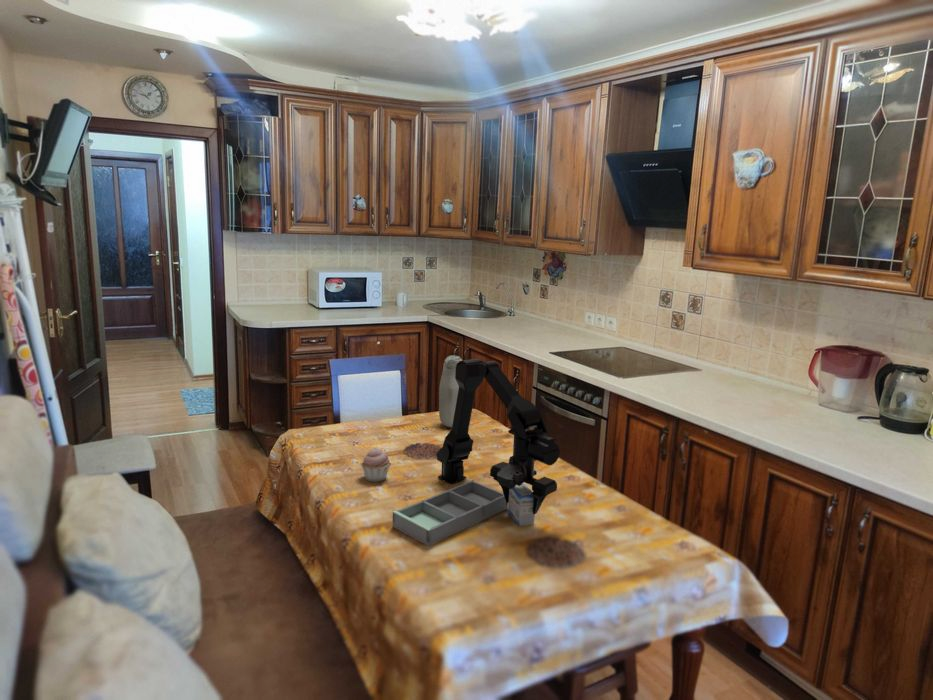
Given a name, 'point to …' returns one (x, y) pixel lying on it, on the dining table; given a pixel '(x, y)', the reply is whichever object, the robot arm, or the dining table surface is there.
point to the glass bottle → (448, 391)
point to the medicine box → (521, 505)
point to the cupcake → (375, 465)
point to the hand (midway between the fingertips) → (521, 507)
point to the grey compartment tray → (449, 512)
